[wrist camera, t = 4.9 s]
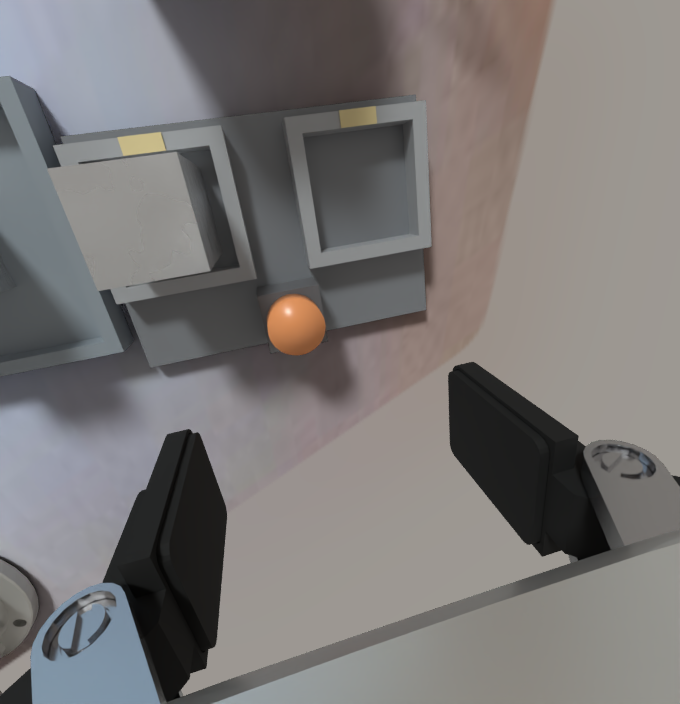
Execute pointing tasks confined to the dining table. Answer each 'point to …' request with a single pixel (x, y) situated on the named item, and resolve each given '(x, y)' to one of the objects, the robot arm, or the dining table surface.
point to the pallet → (286, 220)
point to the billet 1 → (5, 277)
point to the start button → (295, 324)
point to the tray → (44, 254)
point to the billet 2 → (139, 218)
